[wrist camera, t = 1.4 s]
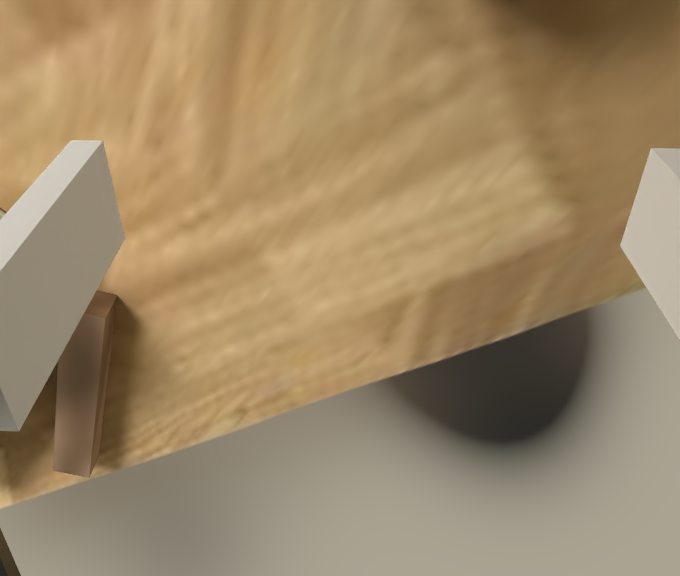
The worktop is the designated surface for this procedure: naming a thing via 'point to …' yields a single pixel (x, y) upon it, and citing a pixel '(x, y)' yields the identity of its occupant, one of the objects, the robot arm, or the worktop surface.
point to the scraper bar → (84, 388)
